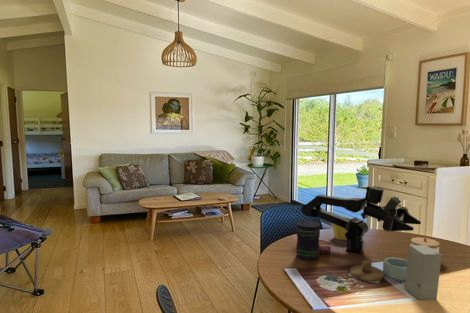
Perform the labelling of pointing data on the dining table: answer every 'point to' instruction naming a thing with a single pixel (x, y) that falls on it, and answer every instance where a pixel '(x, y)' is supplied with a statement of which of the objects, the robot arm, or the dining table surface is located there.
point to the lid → (367, 272)
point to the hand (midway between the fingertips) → (417, 226)
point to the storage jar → (308, 240)
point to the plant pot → (339, 231)
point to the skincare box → (423, 272)
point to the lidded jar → (426, 243)
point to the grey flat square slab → (365, 280)
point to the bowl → (395, 268)
